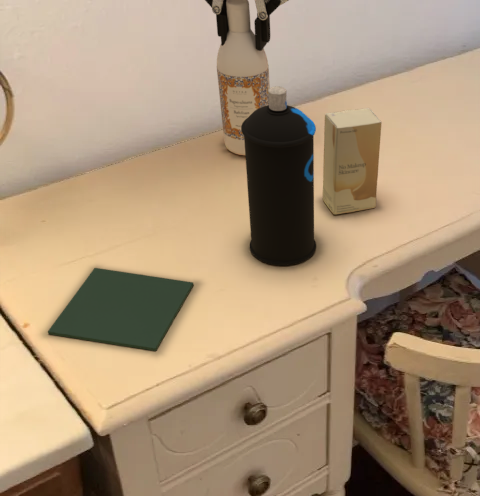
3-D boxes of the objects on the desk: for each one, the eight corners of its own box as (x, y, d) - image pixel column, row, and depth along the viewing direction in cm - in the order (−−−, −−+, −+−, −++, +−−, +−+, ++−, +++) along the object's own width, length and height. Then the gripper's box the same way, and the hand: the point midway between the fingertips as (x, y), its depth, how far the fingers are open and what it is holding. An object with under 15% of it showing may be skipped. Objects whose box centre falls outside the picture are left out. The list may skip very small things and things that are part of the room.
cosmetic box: (333, 216, 109) (334, 128, 100) (321, 200, 111) (321, 112, 103) (378, 207, 111) (383, 120, 102) (365, 191, 114) (369, 105, 105)
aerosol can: (261, 272, 99) (251, 111, 85) (241, 235, 104) (229, 79, 91) (326, 259, 102) (326, 101, 88) (303, 224, 107) (300, 70, 93)
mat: (48, 334, 89) (47, 331, 89) (95, 270, 98) (94, 267, 97) (155, 351, 88) (155, 348, 88) (193, 285, 97) (193, 282, 96)
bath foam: (220, 155, 119) (204, 8, 105) (229, 133, 124) (216, -10, 110) (268, 158, 118) (259, 12, 105) (276, 136, 123) (268, -7, 110)
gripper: (312, -112, 100) (312, 42, 113) (178, -127, 102) (193, 27, 114) (296, -97, 95) (298, 63, 108) (155, -112, 96) (174, 47, 109)
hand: (244, 43), depth 111 cm, fingers closed on bath foam, 4 cm apart
